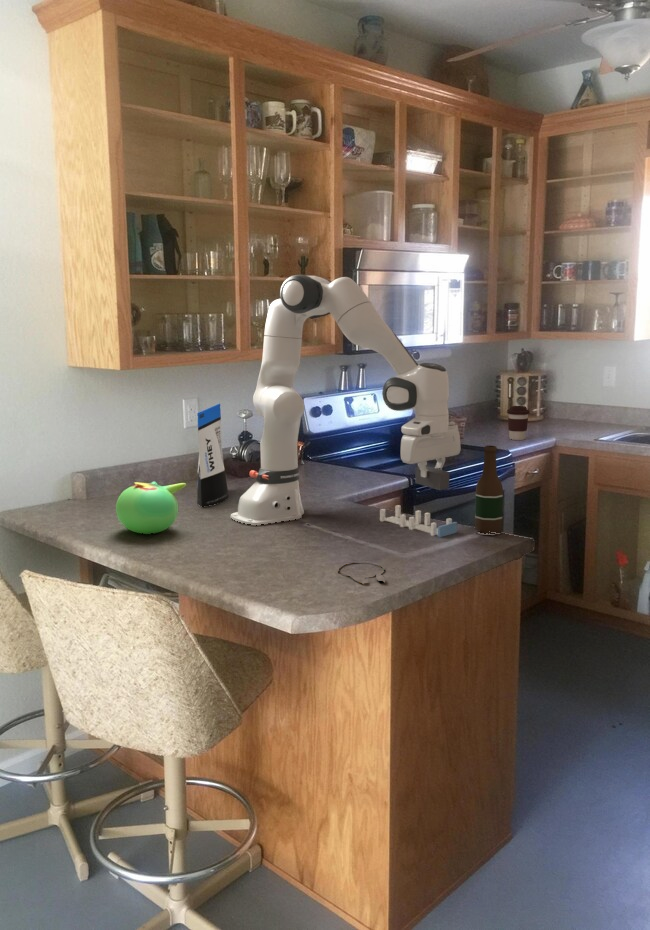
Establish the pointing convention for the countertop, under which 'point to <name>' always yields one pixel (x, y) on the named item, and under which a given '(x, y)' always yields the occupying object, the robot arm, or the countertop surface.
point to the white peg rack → (413, 521)
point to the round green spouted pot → (148, 507)
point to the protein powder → (210, 459)
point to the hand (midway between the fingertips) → (431, 475)
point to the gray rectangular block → (433, 478)
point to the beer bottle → (489, 496)
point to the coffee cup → (517, 422)
